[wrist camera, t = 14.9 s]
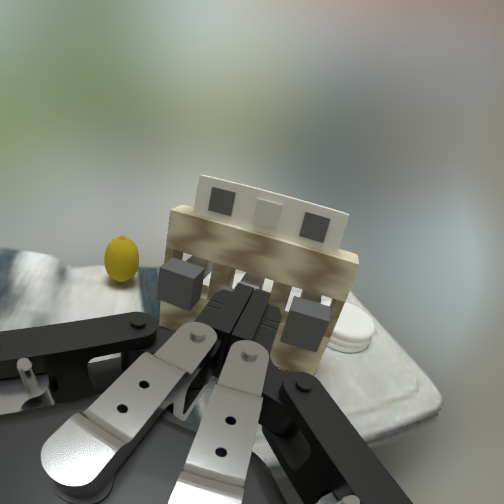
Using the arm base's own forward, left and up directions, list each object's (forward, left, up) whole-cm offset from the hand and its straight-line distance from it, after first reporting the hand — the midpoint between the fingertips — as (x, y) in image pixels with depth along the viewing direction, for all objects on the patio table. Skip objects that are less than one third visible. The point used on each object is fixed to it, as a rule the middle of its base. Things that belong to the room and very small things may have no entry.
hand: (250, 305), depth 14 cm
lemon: (-24, +25, -19) cm, 40 cm away
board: (-3, +22, -19) cm, 29 cm away
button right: (+4, +20, -12) cm, 23 cm away
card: (-3, +20, -3) cm, 20 cm away
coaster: (+11, +31, -20) cm, 38 cm away
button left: (-10, +20, -12) cm, 25 cm away
